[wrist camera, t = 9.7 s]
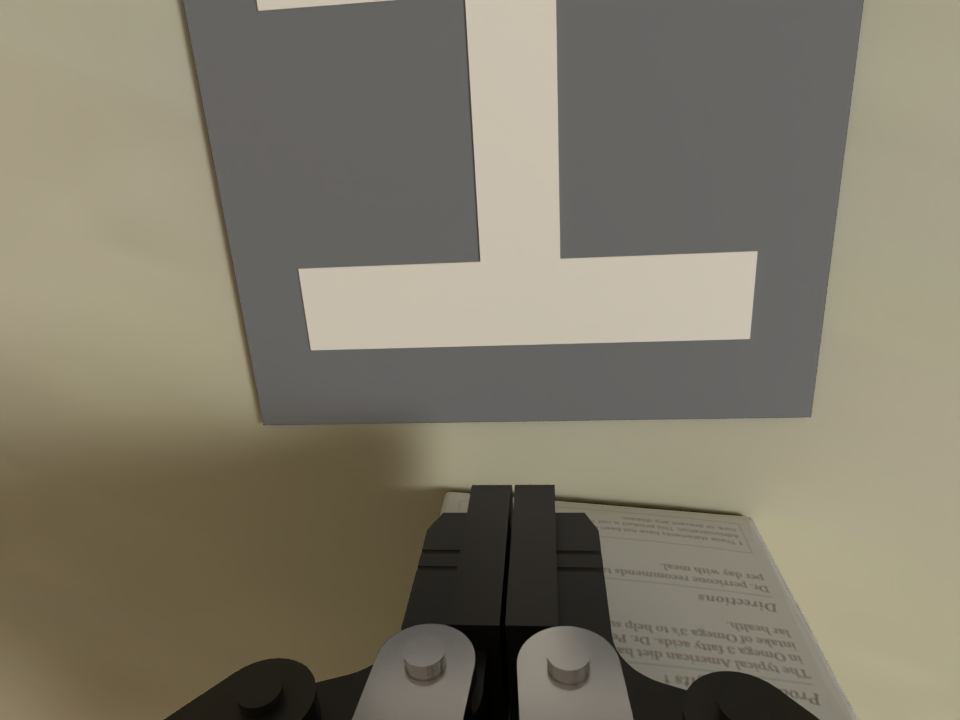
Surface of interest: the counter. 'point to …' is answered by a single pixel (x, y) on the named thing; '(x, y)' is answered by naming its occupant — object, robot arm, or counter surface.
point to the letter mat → (529, 203)
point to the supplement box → (703, 602)
